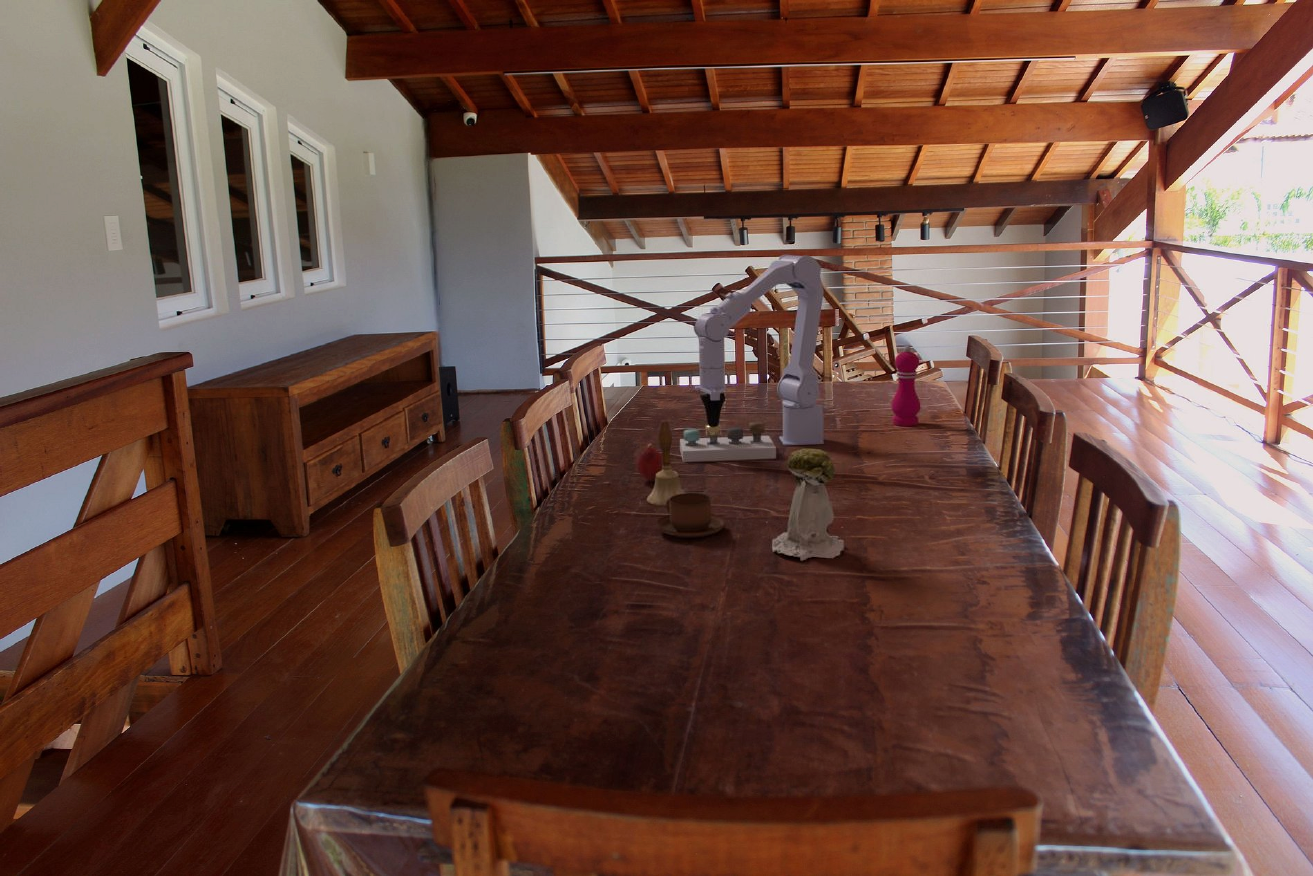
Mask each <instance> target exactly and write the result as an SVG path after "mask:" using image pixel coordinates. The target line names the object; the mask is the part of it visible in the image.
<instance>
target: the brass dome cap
mask: <svg viewBox="0 0 1313 876" xmlns="http://www.w3.org/2000/svg"><path fill="white" fill-rule="evenodd" d="M704 427H705V435H706V436H709V438H710V444H718V438H719V437H718V436H721V435H722V425H721V424H720V423H719V424H718V426H709V425H708V424H705V426H704Z"/></svg>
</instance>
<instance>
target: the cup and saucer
mask: <svg viewBox="0 0 1313 876" xmlns="http://www.w3.org/2000/svg"><path fill="white" fill-rule="evenodd" d="M665 508H666V511H667V512H668V514H667V515H664V516H661V517H660V518H659V519H658V520H657V522H656V526H657V528H658V529H659V530H660V531H661V532H662V533H663V534H666V535H668V536H671V537H675V538H681V539H682V538H683V539H687V538H688V539H692V538H693V539H694V538H702V537H707V536H710V535H711V536H712V535H714V534H716V533H718V532H719V531H721V530H722V529H723V528H724V526H725V523H726V521H725V519H724V518H723V517H722V516H721V515H718V514H714V513H712V498H711V496H709V495H707V494H704V493H697V492H688V493H687V492H685V493H684V494H678V495H674V496H672V497H671V498H669V499H668V500H667V501H666V506H665Z"/></svg>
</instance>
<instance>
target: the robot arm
mask: <svg viewBox="0 0 1313 876" xmlns="http://www.w3.org/2000/svg"><path fill="white" fill-rule="evenodd" d="M821 271H822V267H821V265H820V264H819V263H818V261H817V260H816V259H815V258H814V257H813V256H810V255H791V254H783V255H780V256H779V257H778V258H777V260H775V261H772V262H771V263H770V265H769V266H768V268H767V269H766V270H765V271H764V272H762V273H761V274H760V275H759V276H758V277H756V278H755V279H754V281H753V282H751V283H750V284H749V285H748V286H747V287H746V288H745V289H743V291H742V292H738V291H734V292H728V293H727V294H726V295H725V299H724V300H723V301H721V302H720V303H719V304H717V305H716V306H712V307H711V308H710V311H709V312H708V313H707V312H706V313H702V314H701V315H699V316H698V318H697V320H696V322H695V325H693V332H694V333H695V335H696V336H697V339H698V355H699V358H698V359H699V361H698V363H699V364H698V365H699V366H698V367H699V385H695V386H694V390H695V391H700V392H702V393H705V394H700V395H699V397H700V400H701V402H702V404H703V406H704V410H705V415H706V422H707V425H709V426H718V424H720V417H721V413H722V412H721V411H722V409H723V405H724V403H725V401H726V398H727V397H726V394H725V393H724V391H726V389H727V386H726V372H725V371H726V369H725V367H726V366H725V365H726V363H725V360H726V358H725V338H727V337H728V335H729V333H730V329H731V328H732V327H734V325H736V324H737V323H738V322H739V321H740V320H741V319H743V318H744V317H745V316H746V315H748V314H749V313H750V312H751V309H752V308H751V307H752V304H754V302H756V301H757V300H758V299H760V298H761V297H762V296H764V295H766V293H768V292H770V291H771V290H772V289H773V288H775V287H777V286H778V285H787V286H789V287H790V288H791V289H792V290H793V291H794V293H795V294H796V295H797V296H798V302H797V308H796V309H797V310H796V315H795V323H794V330H793V331H794V332H793V336H792V337H793V338H792V343H791V344H792V346H791V352H790V357H789V358H790V359H789V363H788V365H787V366H785V367H784V369H783V370H782V375H781V378H780V380H779V381H778V382H777V385H776V388H777V389H776V393H777V395H778V397H779V398H780V399H781V404H782V435H781V436H779V440H780V441H781V443H782V445H784V446H801V445H802V446H805V445H806V446H807V445H824V444H825V442H824V410H823V406H822V405H821V404H816V403H817V401H818V399H819V397H820V387H819V375H818V373H817V371H816V370H815V368H814V362H815V361H814V359H815V354H816V347H817V340H818V333H819V327H820V319H821V314H822V313H821V311H822V307H823V306H822V305H823V298H824V293H825V292H824V291H825V290H824V286H823V282H822V277H821Z"/></svg>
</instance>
